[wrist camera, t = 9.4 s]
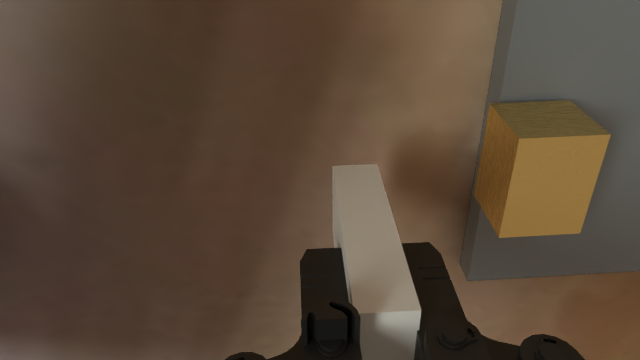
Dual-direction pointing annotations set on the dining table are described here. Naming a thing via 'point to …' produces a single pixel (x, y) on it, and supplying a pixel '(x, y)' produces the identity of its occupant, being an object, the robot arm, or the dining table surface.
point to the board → (592, 98)
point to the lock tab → (538, 167)
